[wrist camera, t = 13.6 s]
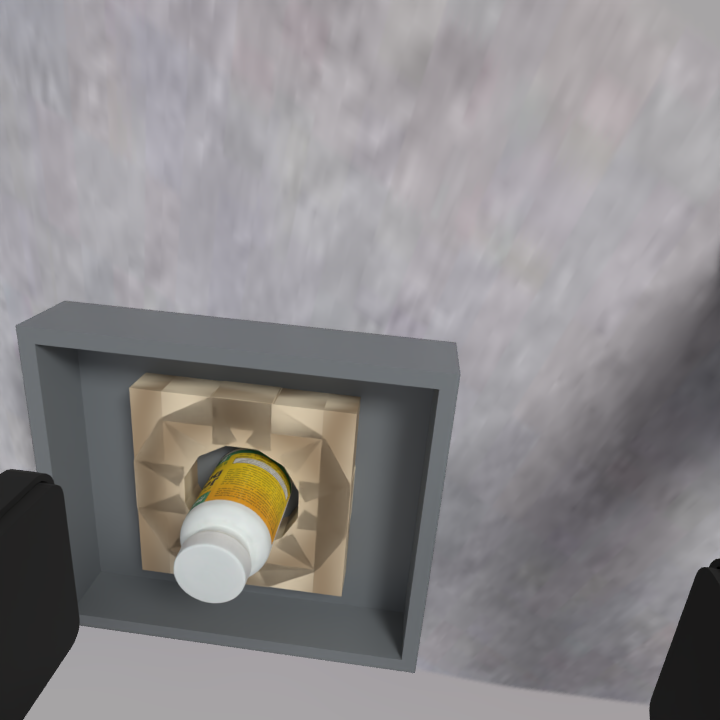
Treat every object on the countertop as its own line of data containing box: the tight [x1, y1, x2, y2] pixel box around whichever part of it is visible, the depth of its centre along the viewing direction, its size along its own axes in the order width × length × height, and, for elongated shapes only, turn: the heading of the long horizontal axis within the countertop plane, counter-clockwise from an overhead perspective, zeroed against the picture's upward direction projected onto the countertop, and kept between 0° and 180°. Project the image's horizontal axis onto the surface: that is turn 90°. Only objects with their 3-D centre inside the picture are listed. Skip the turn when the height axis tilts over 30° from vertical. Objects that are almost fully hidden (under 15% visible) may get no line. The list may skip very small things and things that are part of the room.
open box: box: [16, 301, 460, 673], centre depth 40 cm, size 25×22×5 cm
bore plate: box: [129, 373, 361, 596], centre depth 40 cm, size 14×14×2 cm
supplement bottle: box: [174, 448, 292, 603], centre depth 37 cm, size 5×5×10 cm
